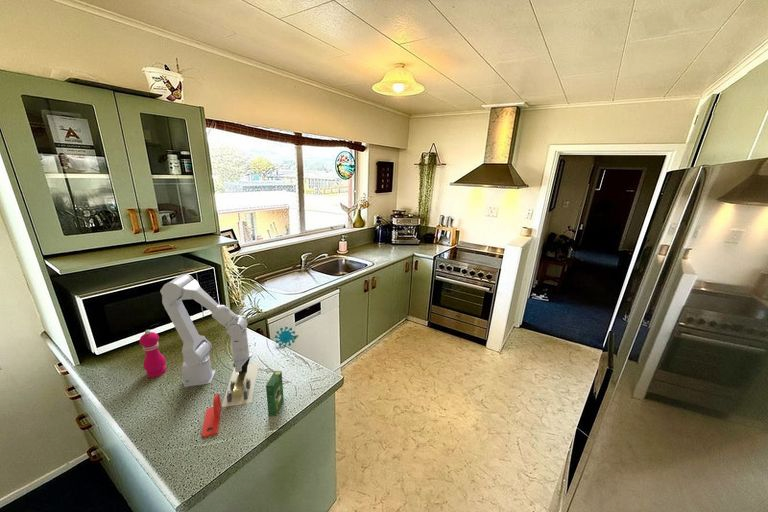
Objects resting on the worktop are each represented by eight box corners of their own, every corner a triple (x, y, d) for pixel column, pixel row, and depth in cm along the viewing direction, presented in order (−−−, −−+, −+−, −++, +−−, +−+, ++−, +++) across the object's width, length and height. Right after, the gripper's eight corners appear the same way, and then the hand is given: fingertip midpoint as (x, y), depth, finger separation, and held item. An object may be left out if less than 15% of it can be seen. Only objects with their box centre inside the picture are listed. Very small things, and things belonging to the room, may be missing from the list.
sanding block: (234, 398, 108) (233, 391, 107) (239, 379, 118) (238, 373, 117) (242, 396, 109) (241, 389, 108) (246, 378, 118) (245, 372, 117)
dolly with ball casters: (227, 402, 106) (226, 394, 105) (232, 386, 114) (231, 379, 113) (247, 399, 108) (246, 391, 107) (250, 384, 115) (250, 377, 114)
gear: (273, 346, 137) (275, 326, 142) (273, 349, 142) (275, 329, 147) (297, 346, 141) (299, 326, 145) (296, 349, 145) (298, 329, 150)
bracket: (207, 411, 103) (204, 393, 101) (221, 407, 105) (218, 389, 102) (201, 439, 92) (198, 420, 90) (217, 435, 94) (214, 415, 92)
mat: (221, 408, 104) (221, 407, 104) (234, 366, 125) (234, 366, 125) (251, 403, 107) (251, 402, 107) (259, 363, 128) (259, 362, 128)
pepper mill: (171, 370, 122) (162, 328, 116) (152, 380, 116) (141, 337, 110) (161, 364, 125) (152, 323, 119) (141, 374, 118) (131, 332, 112)
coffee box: (276, 398, 109) (274, 369, 106) (284, 399, 109) (282, 370, 106) (267, 416, 102) (264, 385, 98) (275, 416, 102) (273, 386, 98)
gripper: (248, 356, 109) (251, 385, 113) (253, 335, 122) (256, 362, 127) (227, 359, 107) (231, 388, 111) (235, 337, 121) (238, 364, 125)
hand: (243, 374), depth 119 cm, fingers closed
